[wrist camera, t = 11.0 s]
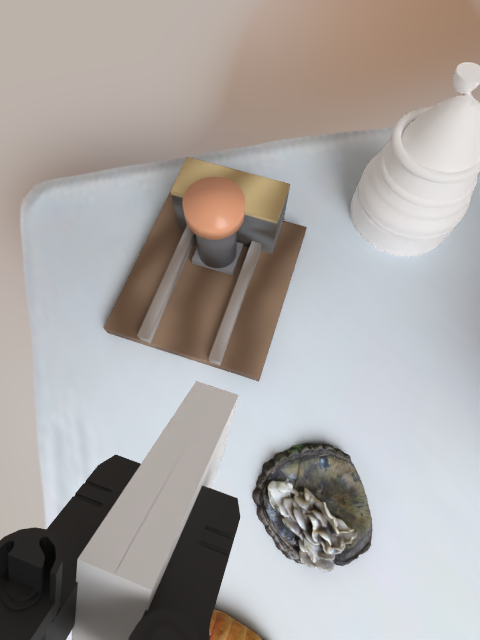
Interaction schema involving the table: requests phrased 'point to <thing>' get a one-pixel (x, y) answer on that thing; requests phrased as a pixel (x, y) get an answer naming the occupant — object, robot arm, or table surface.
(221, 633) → the pastry
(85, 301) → the table surface
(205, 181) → the knob
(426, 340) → the table surface
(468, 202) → the honey pot
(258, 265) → the brown sliding knob board
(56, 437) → the table surface
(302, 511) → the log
